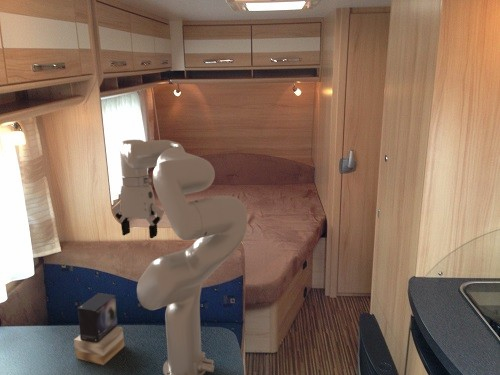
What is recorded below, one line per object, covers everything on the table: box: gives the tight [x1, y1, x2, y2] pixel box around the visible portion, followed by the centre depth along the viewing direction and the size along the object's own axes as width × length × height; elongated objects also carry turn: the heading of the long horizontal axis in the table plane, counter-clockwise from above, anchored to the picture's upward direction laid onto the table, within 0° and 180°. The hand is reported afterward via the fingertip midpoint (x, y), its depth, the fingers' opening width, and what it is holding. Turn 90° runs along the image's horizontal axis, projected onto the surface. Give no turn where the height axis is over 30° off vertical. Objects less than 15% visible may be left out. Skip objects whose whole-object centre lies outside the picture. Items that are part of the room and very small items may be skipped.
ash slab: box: [73, 326, 124, 356], centre depth 132 cm, size 10×10×4 cm
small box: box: [77, 292, 118, 342], centre depth 131 cm, size 11×6×10 cm, turn 164°
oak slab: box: [74, 337, 125, 366], centre depth 133 cm, size 10×10×4 cm
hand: (139, 235), depth 135 cm, fingers open, 9 cm apart
